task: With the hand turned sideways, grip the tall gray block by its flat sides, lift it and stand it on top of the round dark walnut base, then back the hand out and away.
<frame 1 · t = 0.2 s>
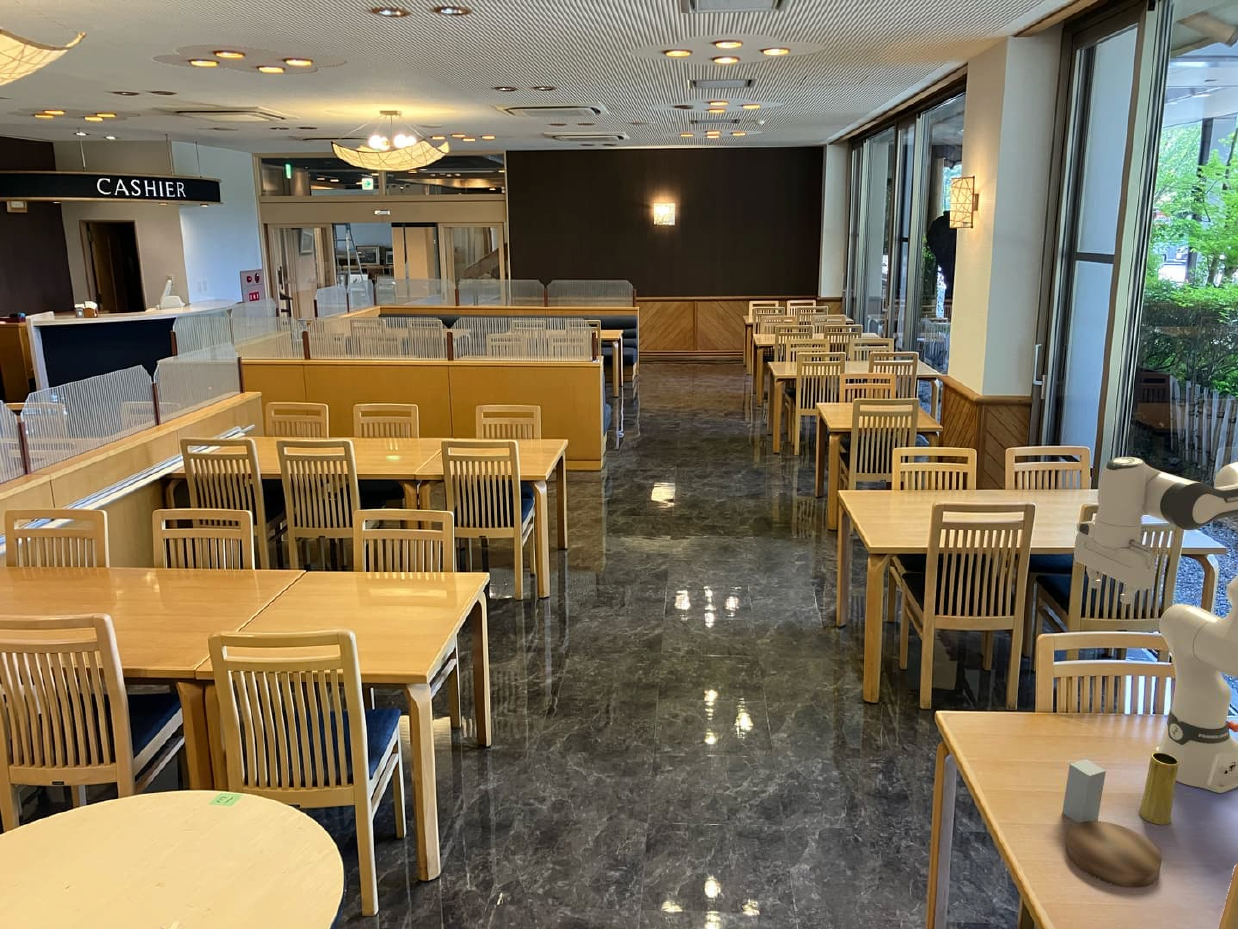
hand: (1109, 594, 211), 47 cm above the table, tool pointing down, fingers open, 8 cm apart
walnut base: (1111, 859, 199), on the table
vase: (1154, 817, 213), on the table
gray block: (1079, 816, 213), on the table
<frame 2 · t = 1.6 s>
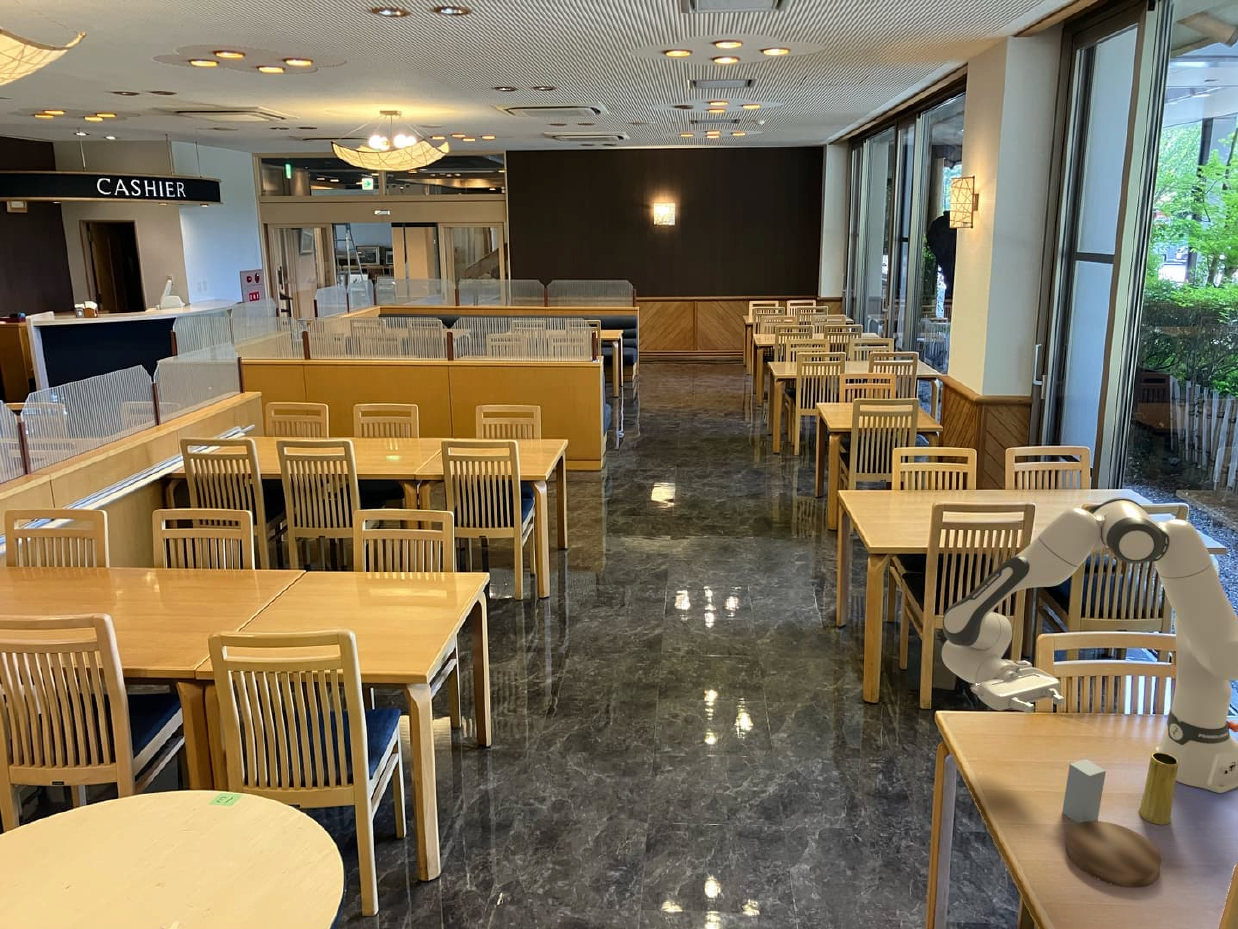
hand: (1047, 706, 218), 20 cm above the table, tool horizontal, fingers open, 8 cm apart
nothing on the table moved.
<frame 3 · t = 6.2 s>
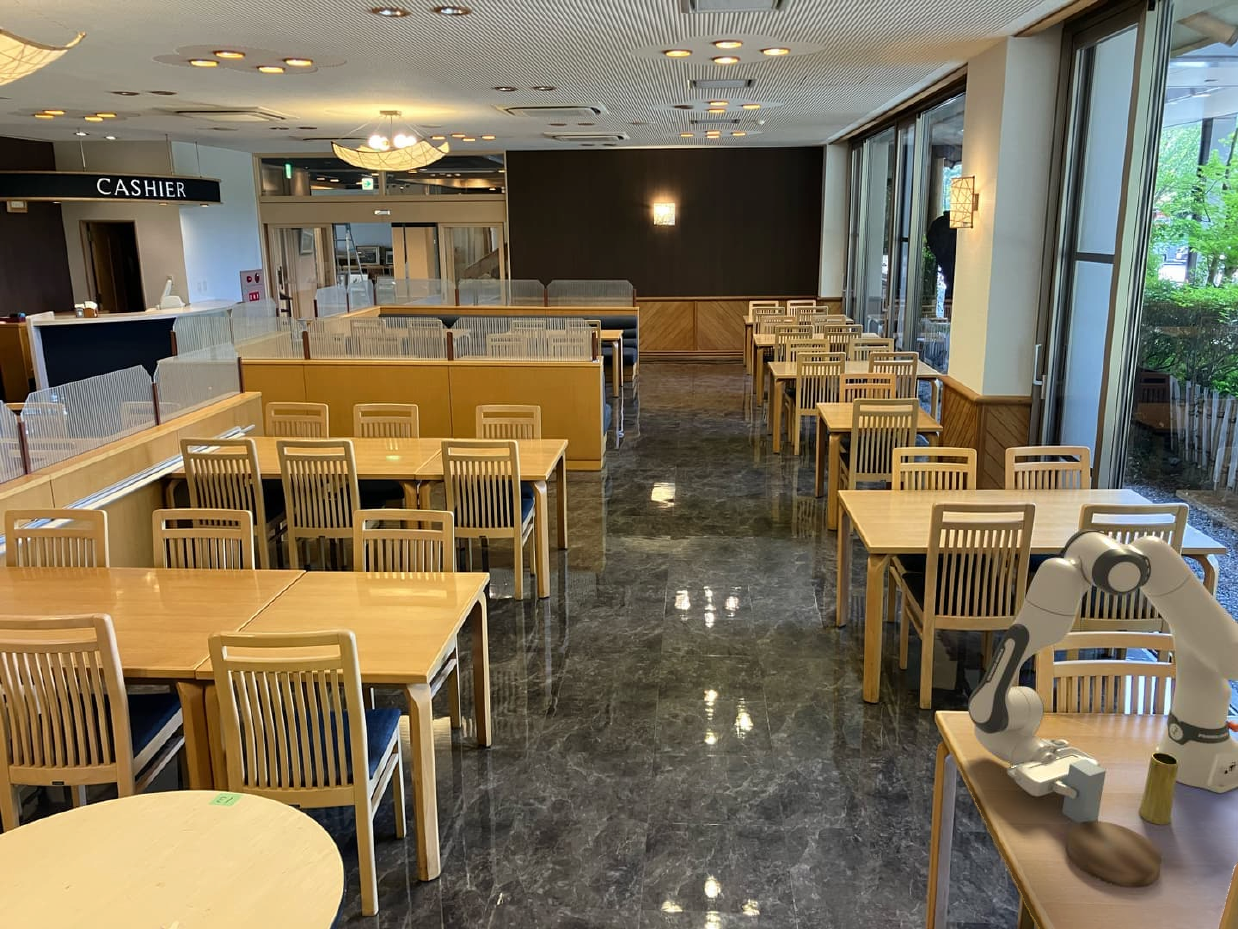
hand: (1087, 792, 210), 7 cm above the table, tool horizontal, fingers closed on gray block, 5 cm apart
gray block: (1079, 816, 213), on the table, touching gripper
everything else where it was.
when the fingers open (11 cm above the table, at t = 12.9 s): gray block drops 1 cm, resting on walnut base.
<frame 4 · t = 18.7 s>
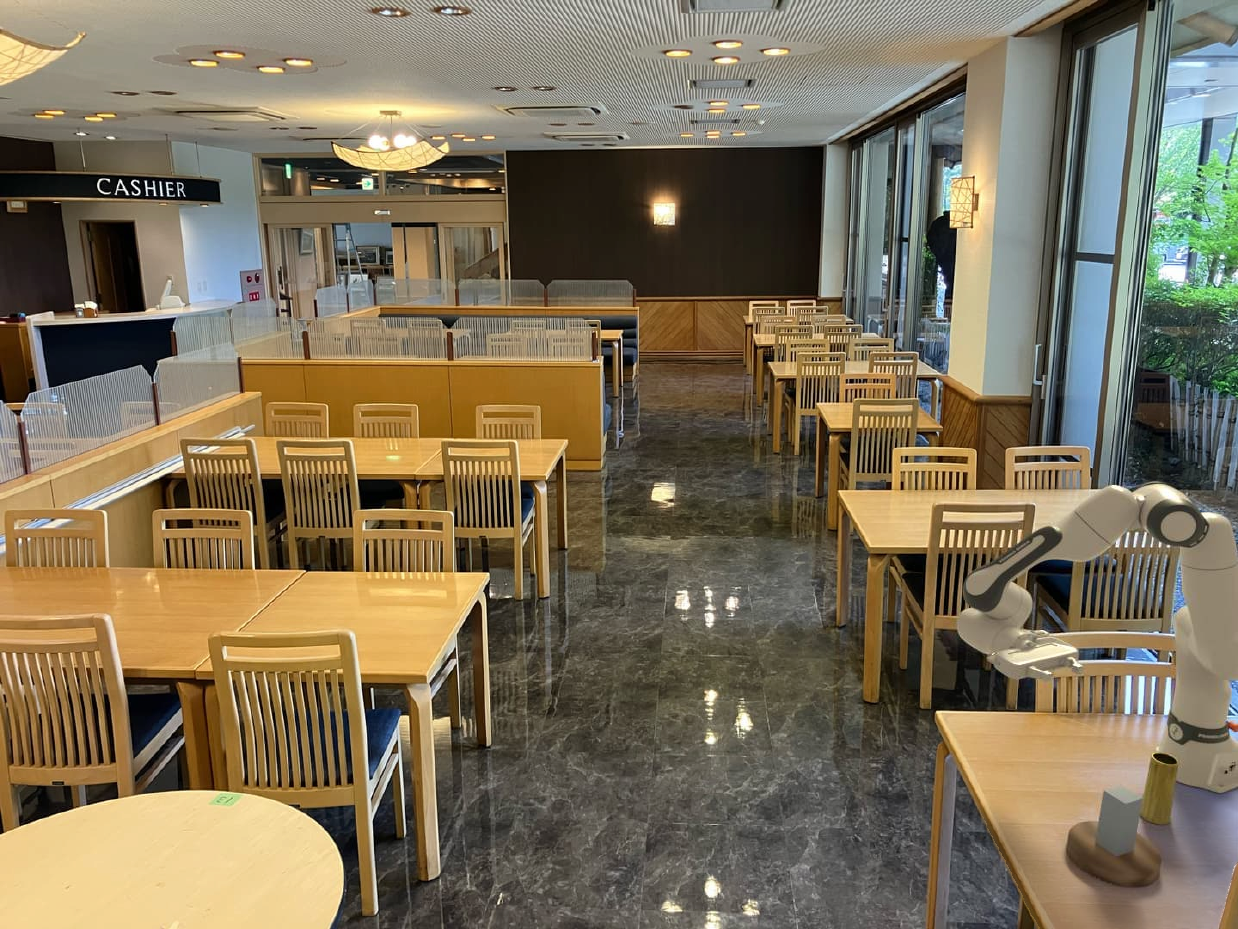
hand: (1065, 674, 212), 30 cm above the table, tool horizontal, fingers open, 8 cm apart
gray block: (1114, 846, 198), point 3 cm above the table, touching walnut base
everything else where it was.
at the end: gray block inside the target area on the walnut base (0.0 cm from its centre), point 3.0 cm above the walnut base's base; gray block tilted 0°; the gripper is holding nothing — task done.
